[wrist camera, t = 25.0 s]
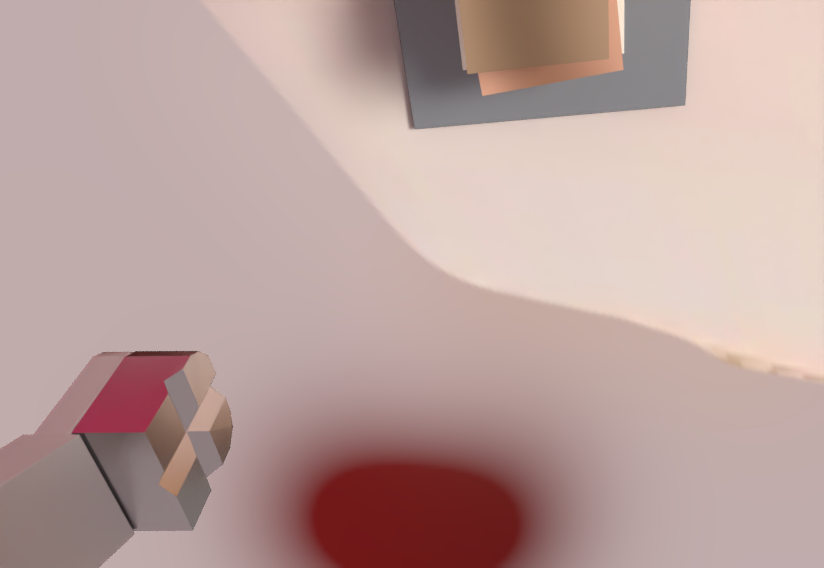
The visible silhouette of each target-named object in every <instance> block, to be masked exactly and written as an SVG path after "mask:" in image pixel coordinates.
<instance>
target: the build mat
mask: <svg viewBox="0 0 824 568" xmlns="http://www.w3.org/2000/svg"><path fill="white" fill-rule="evenodd" d="M690 1H691V0H617V5H618V16H619V27H620V37H621V48H622V59H623V69H624V70H620V71H615V72H609V73H604V74H599V75H593V76H588V77H582V78H577V79H572V80H566V81H561V82H555V83H550V84H545V85H539V86H534V87H529V88H523V89H518V90H512V91H507V92H502V93H496V94H491V95H485V96H482V91H481V86H480V81H479V76H478V73H473V74H467V67H466V58H465V50H464V41H463V33H462V25H461V16H460V8H459V0H394V4H395V10H396V16H397V22H398V29H399V35H400V41H401V47H402V53H403V60H404V66H405V72H406V78H407V85H408V91H409V97H410V103H411V110H412V116H413V122H414V128H415V129H422V128H434V127H445V126H456V125H467V124H479V123H490V122H501V121H513V120H524V119H535V118H547V117H558V116H569V115H580V114H592V113H603V112H614V111H626V110H637V109H648V108H660V107H671V106H682V105H685V98H686V79H687V59H688V40H689V21H690Z"/></svg>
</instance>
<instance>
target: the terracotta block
mask: <svg viewBox="0 0 824 568" xmlns="http://www.w3.org/2000/svg"><path fill="white" fill-rule="evenodd" d="M608 17H609V59H604V60H595V61H585V62H576V63H567V64H557V65H548V66H539V67H529V68H520V69H511V70H501V71H492V72H483V73H478V76H479V81H480V86H481V91H482V96H485V95H491V94H496V93H502V92H507V91H512V90H518V89H523V88H529V87H534V86H539V85H545V84H550V83H555V82H561V81H566V80H572V79H577V78H582V77H588V76H593V75H599V74H604V73H609V72H615V71H620V70H624V69H623V59H622V48H621V37H620V27H619V16H618V5H617V0H608Z"/></svg>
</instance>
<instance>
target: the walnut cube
mask: <svg viewBox="0 0 824 568" xmlns="http://www.w3.org/2000/svg"><path fill="white" fill-rule="evenodd" d="M459 8H460V16H461V25H462V33H463V41H464V50H465V58H466V67H467V74H473V73H483V72H492V71H501V70H511V69H520V68H529V67H539V66H548V65H557V64H567V63H576V62H585V61H595V60H604V59H609V17H608V0H459Z"/></svg>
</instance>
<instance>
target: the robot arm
mask: <svg viewBox="0 0 824 568" xmlns="http://www.w3.org/2000/svg"><path fill="white" fill-rule="evenodd" d="M215 375H216V372H215V370H214V368H213V365H212V363H211V361H210V359H209V356H208V355H206V354H204V353H202V352H200V351H136V352H103V353H101V354H98V355H96V356H94V357H92V359H91V360H90V361H89V363H88V364H87V365H86V366H85V368H84V369H83V371H82V372H81V373H80V374H79V376H78V377H77V378H76V380H75V381H74V382H73V383H72V385H71V386H70V387H69V389H68V390H67V391H66V393H65V394H64V395H63V397H62V398H61V399H60V401H59V402H58V403H57V404H56V406H55V407H54V409H53V410H52V411H51V412H50V414H49V415H48V416H47V418H46V419H45V420H44V421H43V423H42V424H41V425H40V427H39V428H38V429H37V431H36V432H35V433H34V435H22V436H20V437H19V438H17V439H16V440H14V441H12V442H11V443H9V444H8V445H6V446H4V447H2V448H1V449H0V568H99V567H100V566H101V565H102V564H103V563H104V562H105V561H106V560H107V559H109V557H111V556H112V555H113V554H114V553H115V552H116V551H117V550H118V549H119V548H120V547H121V546H122V545H123V544H125V542H127V541H128V540H129V539H130V538H131V537H132V536H133V535H134V531H159V530H160V531H163V530H164V531H174V530H175V531H176V530H193V529H194V527H195V525H196V522H197V520H198V518H199V516H200V514H201V511H202V509H203V507H204V505H205V503H206V500H207V498H208V496H209V494H210V492H211V488H210V485H209V482H208V480H207V477H208V476H209V475H210V474H211V473H213V472H214V471H215V470H216V469H217V468H219V467H220V466H222V465H223V463H224V461H225V458H226V456H227V454H228V451H229V449H230V444H231V437H232V428H233V425H232V418H231V411H230V408H229V406H228V403H227V400H226V398H225V397H224V396H223V395H221V394H220V393H219V392H218V391H216V390H215V389H214V388H213V387H211V384H212V382H213V379H214V377H215Z"/></svg>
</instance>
